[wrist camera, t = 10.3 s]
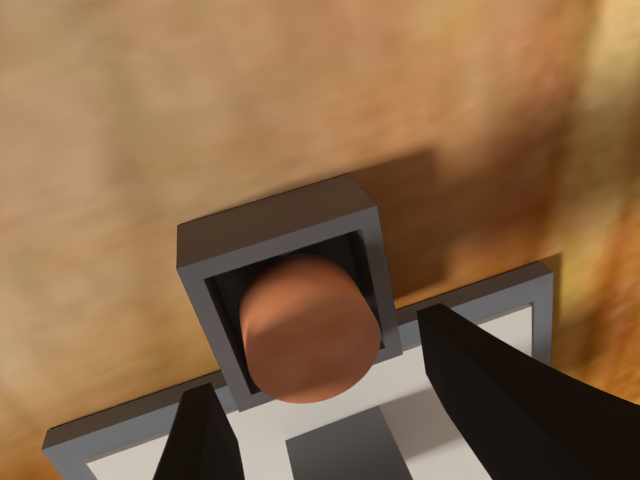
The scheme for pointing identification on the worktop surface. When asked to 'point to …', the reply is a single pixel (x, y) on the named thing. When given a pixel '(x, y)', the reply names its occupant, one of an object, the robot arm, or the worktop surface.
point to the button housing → (272, 244)
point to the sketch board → (295, 419)
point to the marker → (348, 451)
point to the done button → (306, 329)
